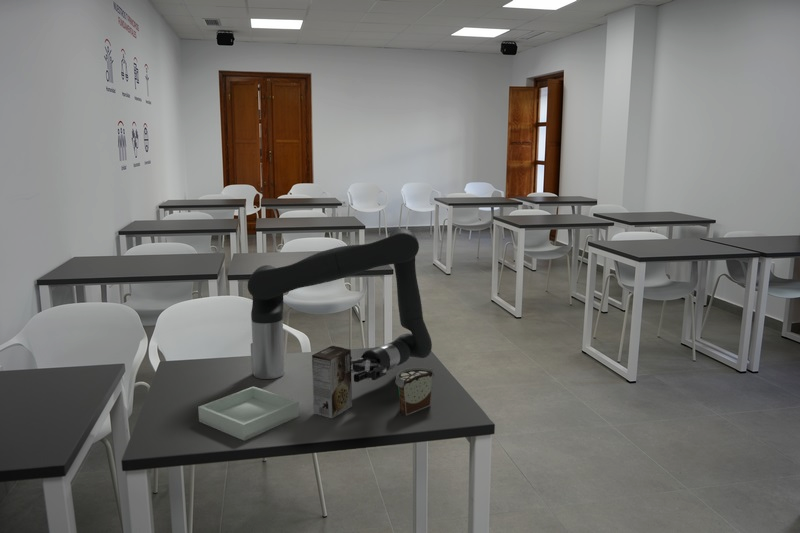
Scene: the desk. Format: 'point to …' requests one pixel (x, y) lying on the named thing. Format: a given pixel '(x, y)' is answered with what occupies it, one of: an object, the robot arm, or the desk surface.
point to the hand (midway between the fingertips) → (342, 375)
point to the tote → (248, 412)
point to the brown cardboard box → (332, 381)
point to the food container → (414, 389)
